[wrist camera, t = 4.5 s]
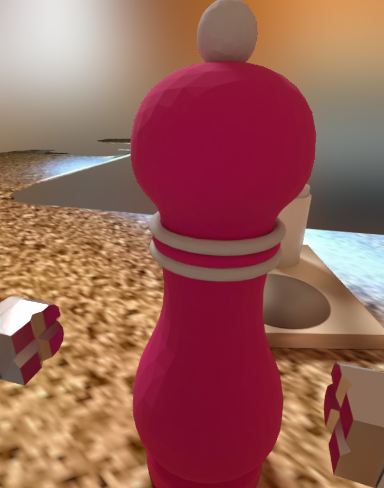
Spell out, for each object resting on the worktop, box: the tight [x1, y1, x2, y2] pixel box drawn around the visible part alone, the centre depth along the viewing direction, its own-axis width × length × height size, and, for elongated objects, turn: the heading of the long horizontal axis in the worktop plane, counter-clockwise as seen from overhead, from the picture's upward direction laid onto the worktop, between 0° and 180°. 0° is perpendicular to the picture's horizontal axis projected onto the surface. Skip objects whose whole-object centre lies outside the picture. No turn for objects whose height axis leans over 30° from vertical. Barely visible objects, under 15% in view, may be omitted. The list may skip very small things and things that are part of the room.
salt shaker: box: [276, 184, 311, 267], centre depth 34 cm, size 5×5×9 cm
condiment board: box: [263, 245, 384, 350], centre depth 31 cm, size 16×18×2 cm
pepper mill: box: [131, 0, 316, 488], centre depth 12 cm, size 7×7×20 cm
